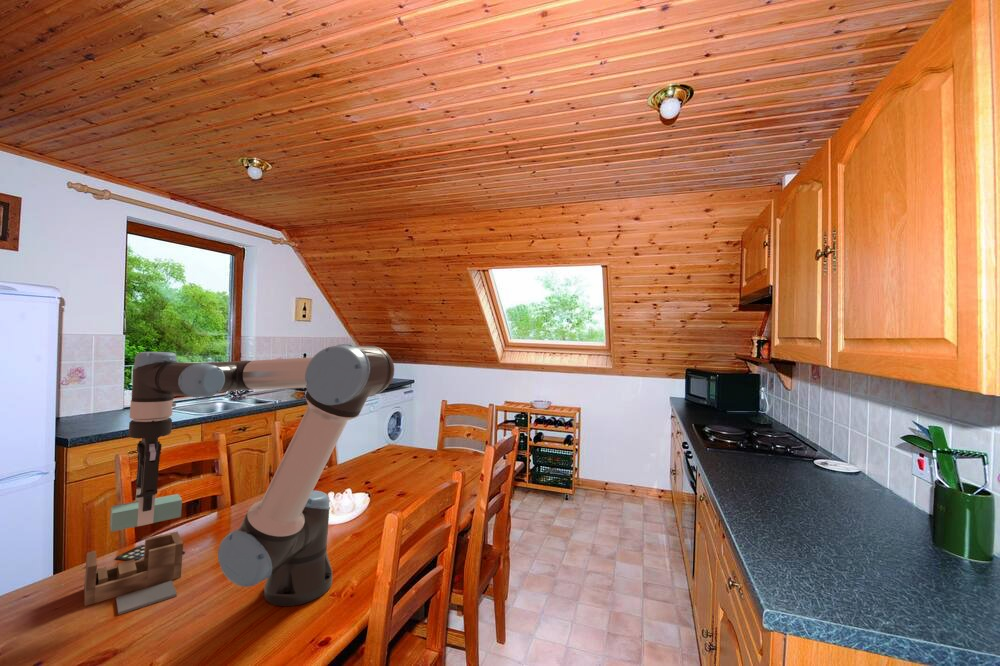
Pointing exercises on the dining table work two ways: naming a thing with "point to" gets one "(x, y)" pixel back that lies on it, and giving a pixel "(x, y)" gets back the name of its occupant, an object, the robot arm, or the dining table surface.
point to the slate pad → (145, 597)
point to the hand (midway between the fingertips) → (143, 519)
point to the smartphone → (134, 554)
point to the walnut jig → (135, 570)
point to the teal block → (128, 512)
